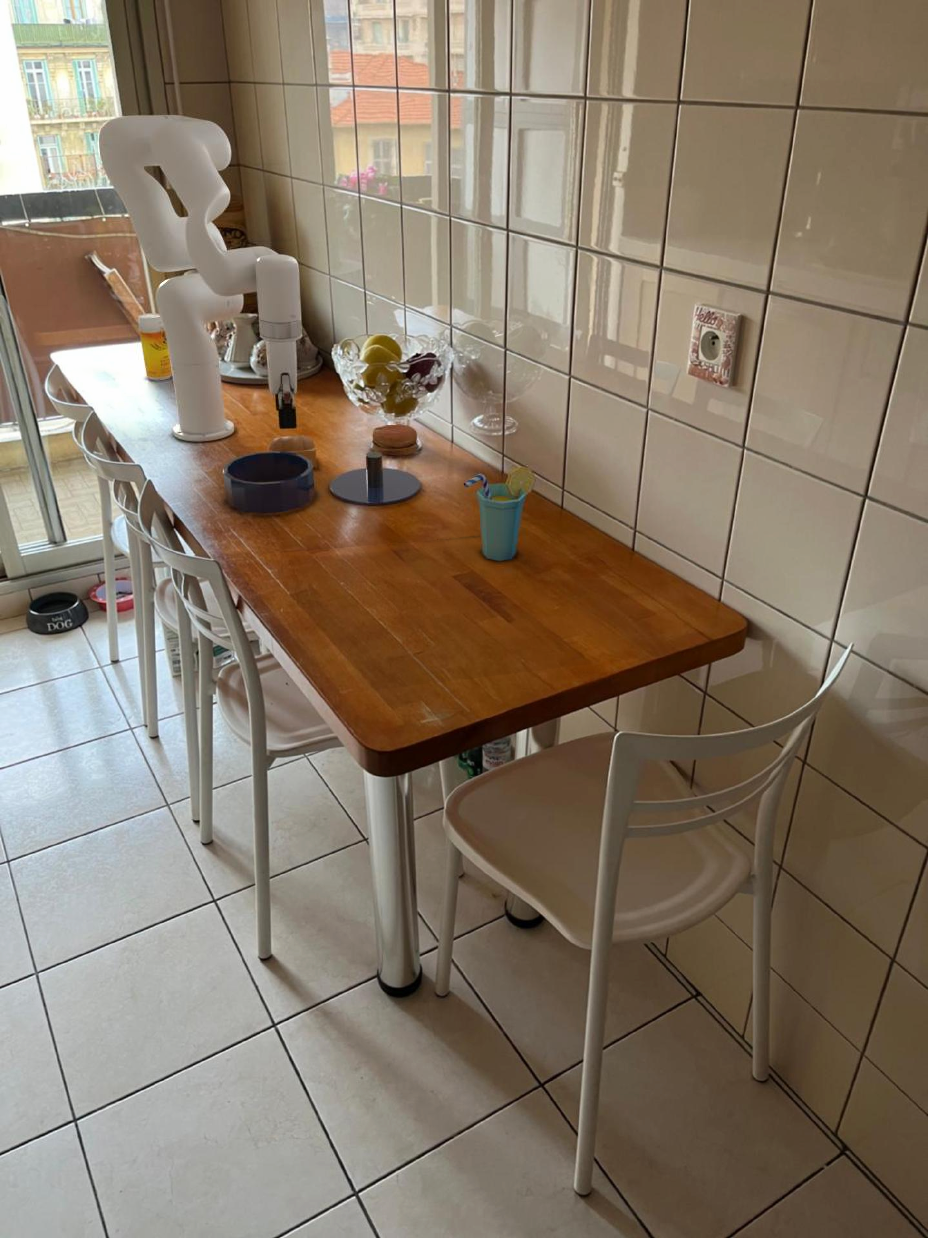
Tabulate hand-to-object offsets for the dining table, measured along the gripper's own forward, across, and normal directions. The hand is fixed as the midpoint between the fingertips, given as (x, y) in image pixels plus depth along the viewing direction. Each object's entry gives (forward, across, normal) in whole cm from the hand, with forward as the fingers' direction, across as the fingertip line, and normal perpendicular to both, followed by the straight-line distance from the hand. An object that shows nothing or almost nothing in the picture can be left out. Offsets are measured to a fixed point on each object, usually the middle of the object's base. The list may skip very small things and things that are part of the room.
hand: (286, 418), depth 176 cm
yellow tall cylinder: (+12, -65, -27) cm, 72 cm away
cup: (+7, +46, +30) cm, 55 cm away
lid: (+8, +16, +15) cm, 23 cm away
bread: (+9, +1, +1) cm, 9 cm away
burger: (+9, -4, +22) cm, 24 cm away
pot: (+9, +16, -4) cm, 19 cm away
